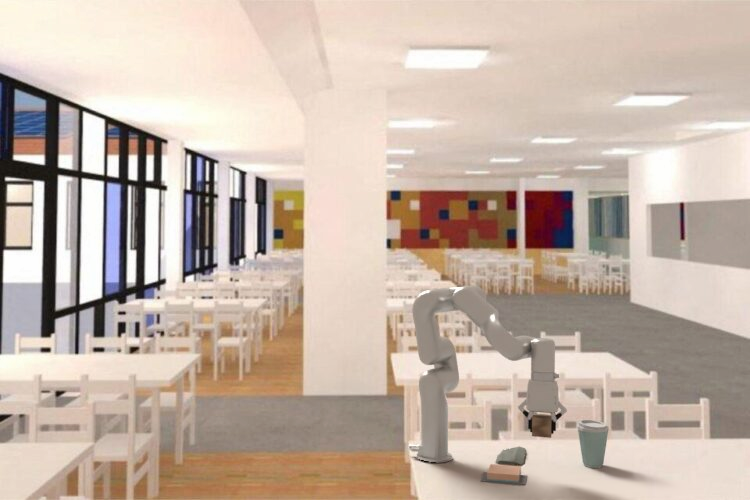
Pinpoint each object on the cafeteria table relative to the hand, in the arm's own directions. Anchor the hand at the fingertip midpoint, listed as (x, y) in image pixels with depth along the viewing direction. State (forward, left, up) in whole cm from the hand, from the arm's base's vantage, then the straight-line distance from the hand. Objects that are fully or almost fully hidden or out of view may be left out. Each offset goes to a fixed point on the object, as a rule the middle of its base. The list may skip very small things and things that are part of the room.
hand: (541, 431), depth 237 cm
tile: (-12, +2, -13) cm, 18 cm away
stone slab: (-12, +23, -16) cm, 30 cm away
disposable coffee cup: (+16, +19, -15) cm, 29 cm away
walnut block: (0, 0, -1) cm, 1 cm away
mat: (-12, -4, -15) cm, 20 cm away
